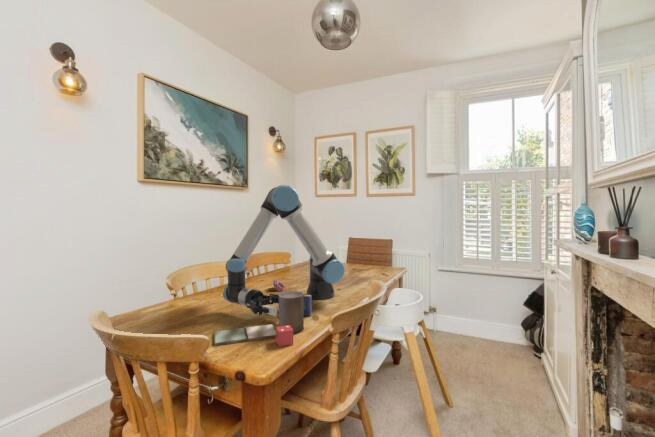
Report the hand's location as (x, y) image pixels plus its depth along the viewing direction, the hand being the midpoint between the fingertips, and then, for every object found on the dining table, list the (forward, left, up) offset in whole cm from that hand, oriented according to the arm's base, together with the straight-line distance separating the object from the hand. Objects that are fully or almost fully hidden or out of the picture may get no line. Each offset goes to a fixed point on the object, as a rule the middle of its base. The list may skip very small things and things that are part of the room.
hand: (288, 307), depth 117 cm
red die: (+4, +11, -8) cm, 15 cm away
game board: (+16, 0, -8) cm, 18 cm away
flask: (-9, -14, -9) cm, 19 cm away
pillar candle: (-1, 0, -9) cm, 9 cm away
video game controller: (-8, -60, -9) cm, 61 cm away
